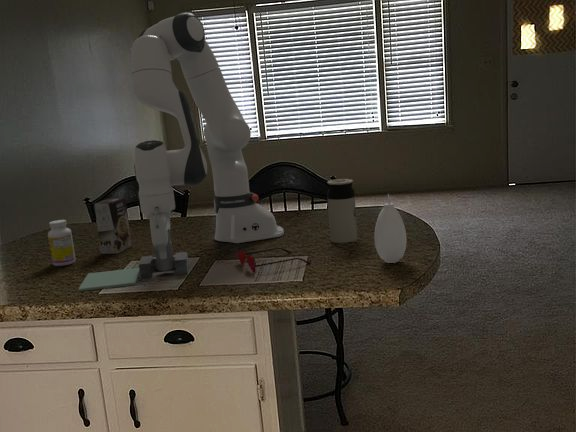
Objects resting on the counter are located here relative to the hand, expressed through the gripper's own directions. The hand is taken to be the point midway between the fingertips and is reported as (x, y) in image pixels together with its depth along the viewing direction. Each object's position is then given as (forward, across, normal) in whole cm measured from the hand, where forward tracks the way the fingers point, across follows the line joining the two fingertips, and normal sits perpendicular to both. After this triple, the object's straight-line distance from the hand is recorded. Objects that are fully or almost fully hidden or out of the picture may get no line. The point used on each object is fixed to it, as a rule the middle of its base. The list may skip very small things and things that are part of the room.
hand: (164, 255), depth 162 cm
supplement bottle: (+5, +24, +31) cm, 40 cm away
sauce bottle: (+6, -15, -57) cm, 59 cm away
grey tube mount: (+5, +2, 0) cm, 6 cm away
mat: (+5, 0, +14) cm, 15 cm away
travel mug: (+6, +14, -52) cm, 54 cm away
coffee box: (+5, +34, +17) cm, 39 cm away
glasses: (+6, -2, -28) cm, 29 cm away
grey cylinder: (+4, 0, 0) cm, 4 cm away
